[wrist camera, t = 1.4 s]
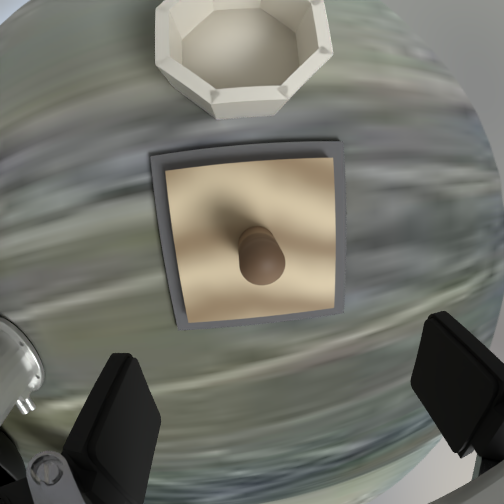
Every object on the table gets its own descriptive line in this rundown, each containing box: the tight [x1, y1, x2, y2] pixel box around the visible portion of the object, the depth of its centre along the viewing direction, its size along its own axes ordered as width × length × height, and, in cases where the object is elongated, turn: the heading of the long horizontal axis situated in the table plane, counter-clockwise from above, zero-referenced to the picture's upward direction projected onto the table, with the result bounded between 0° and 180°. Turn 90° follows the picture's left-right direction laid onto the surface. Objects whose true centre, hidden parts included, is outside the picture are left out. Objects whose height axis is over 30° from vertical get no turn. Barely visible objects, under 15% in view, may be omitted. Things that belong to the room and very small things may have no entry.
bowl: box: [155, 0, 333, 120], centre depth 19 cm, size 12×12×7 cm
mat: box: [150, 141, 346, 330], centre depth 27 cm, size 17×17×1 cm
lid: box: [165, 158, 336, 323], centre depth 23 cm, size 14×14×6 cm
